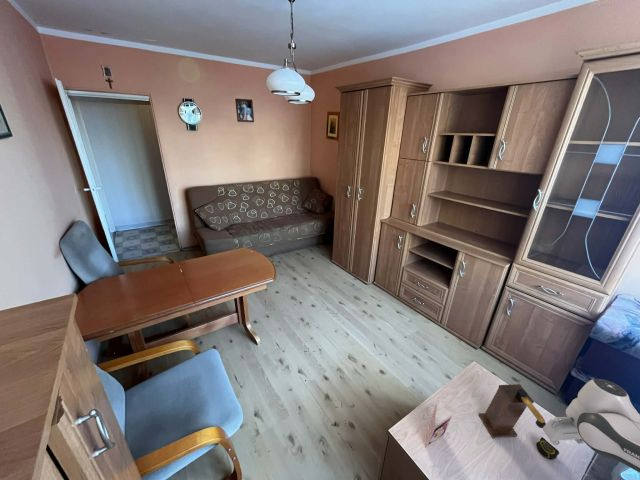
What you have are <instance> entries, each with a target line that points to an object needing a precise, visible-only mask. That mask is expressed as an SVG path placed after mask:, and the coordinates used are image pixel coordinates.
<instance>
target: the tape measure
mask: <svg viewBox="0 0 640 480" xmlns="http://www.w3.org/2000/svg"><path fill="white" fill-rule="evenodd" d="M535 445H536V449H537V451H538V452H539V454H541V456H542V457H544V458H545V459H547V460H550V461H553V460H555V459H557V457H558V456H559V454H560V451H559V450H558V449H557V448H556V447H555V446H554V445H553V444H552V443H551V442H550V441H547V440H546V438H545V437H540V438H539V441H537V442H536V443H535Z"/></svg>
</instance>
